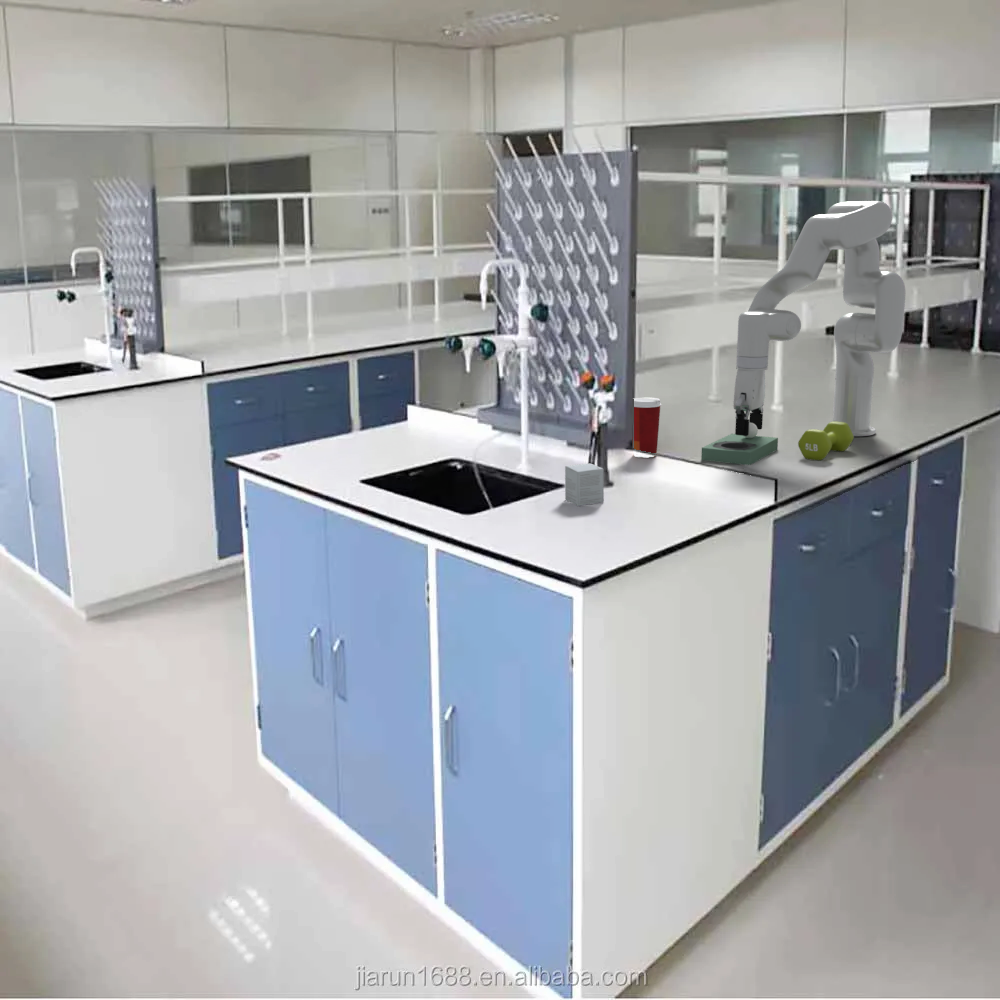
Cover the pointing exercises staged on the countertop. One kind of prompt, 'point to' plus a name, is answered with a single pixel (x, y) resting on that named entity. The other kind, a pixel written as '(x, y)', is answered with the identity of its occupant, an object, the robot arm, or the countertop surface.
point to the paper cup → (646, 423)
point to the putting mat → (739, 449)
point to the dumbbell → (825, 440)
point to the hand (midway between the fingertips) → (748, 432)
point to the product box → (584, 484)
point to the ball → (752, 431)
